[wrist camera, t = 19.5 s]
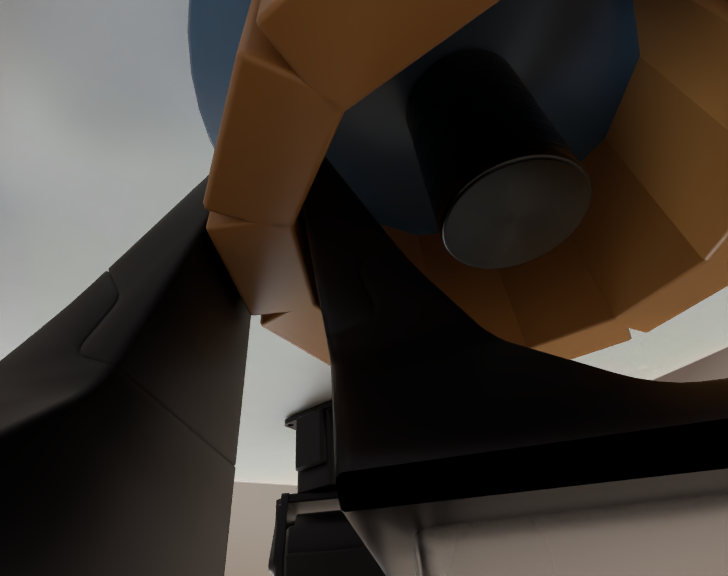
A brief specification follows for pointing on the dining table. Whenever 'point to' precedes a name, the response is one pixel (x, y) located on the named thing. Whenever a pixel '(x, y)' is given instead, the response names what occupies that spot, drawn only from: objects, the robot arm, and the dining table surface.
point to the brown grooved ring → (458, 281)
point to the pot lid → (469, 122)
